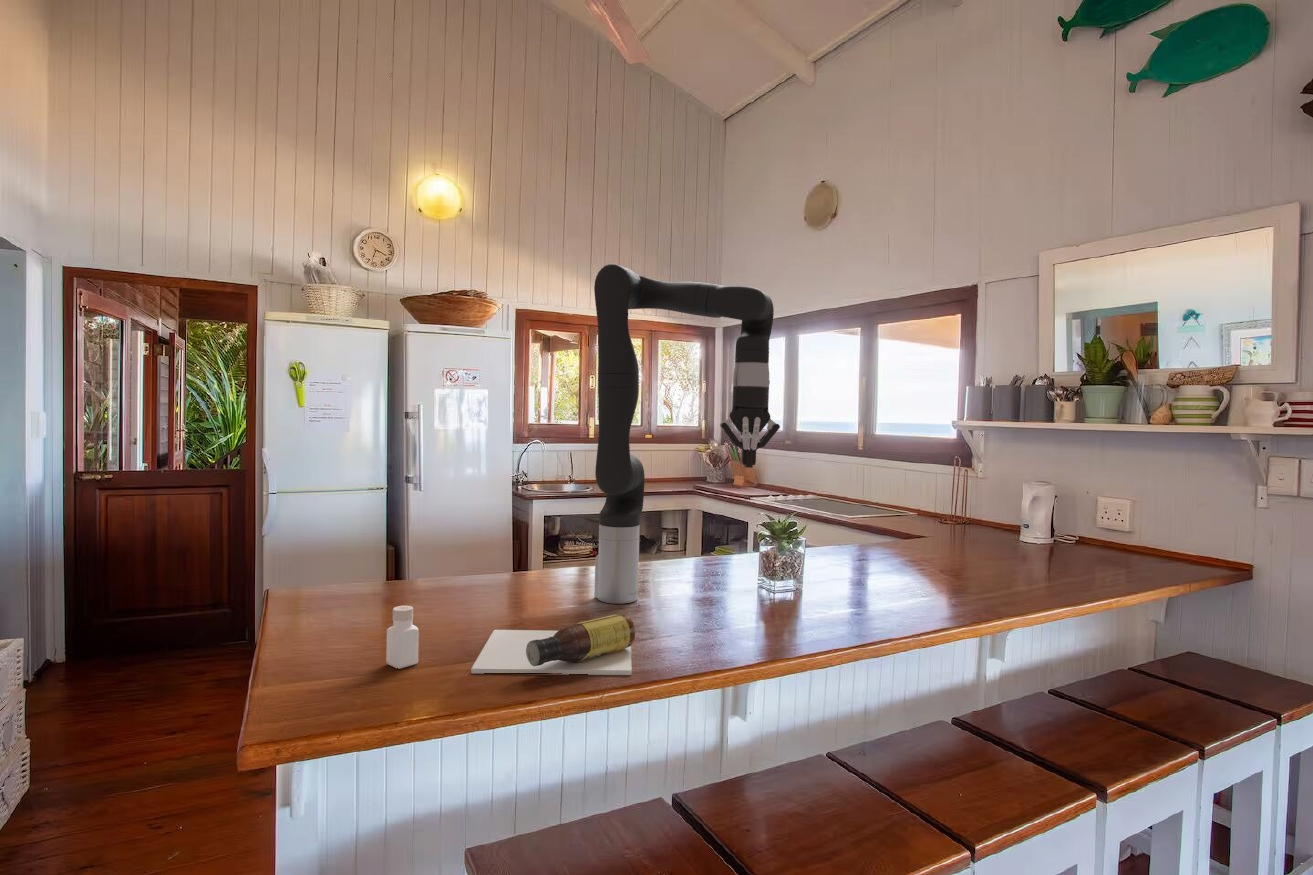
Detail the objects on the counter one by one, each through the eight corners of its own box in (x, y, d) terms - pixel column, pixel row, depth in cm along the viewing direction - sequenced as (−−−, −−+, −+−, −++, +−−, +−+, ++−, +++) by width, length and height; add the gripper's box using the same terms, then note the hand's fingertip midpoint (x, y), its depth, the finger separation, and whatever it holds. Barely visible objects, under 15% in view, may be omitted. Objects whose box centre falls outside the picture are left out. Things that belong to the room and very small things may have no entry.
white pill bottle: (406, 658, 120) (407, 603, 120) (419, 664, 118) (420, 607, 117) (384, 664, 117) (385, 608, 117) (397, 670, 115) (398, 612, 114)
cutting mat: (471, 673, 114) (471, 668, 114) (494, 633, 134) (494, 629, 134) (631, 675, 116) (631, 670, 116) (630, 635, 136) (630, 631, 135)
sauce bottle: (614, 640, 129) (518, 664, 116) (617, 607, 128) (521, 627, 116) (637, 653, 124) (539, 679, 111) (640, 619, 124) (542, 641, 111)
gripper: (778, 386, 152) (775, 466, 153) (717, 384, 151) (714, 465, 152) (786, 385, 144) (783, 469, 145) (722, 383, 144) (719, 468, 145)
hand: (748, 467), depth 149 cm, fingers closed
